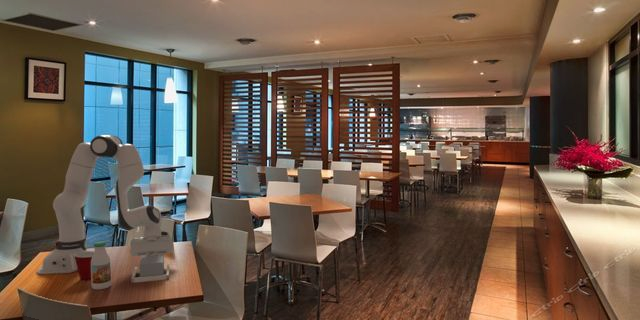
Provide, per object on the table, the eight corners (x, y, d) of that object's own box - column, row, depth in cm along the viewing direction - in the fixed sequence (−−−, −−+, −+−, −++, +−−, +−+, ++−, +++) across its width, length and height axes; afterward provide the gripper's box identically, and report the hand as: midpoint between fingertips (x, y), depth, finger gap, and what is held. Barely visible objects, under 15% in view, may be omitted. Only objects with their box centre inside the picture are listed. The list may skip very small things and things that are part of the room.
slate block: (140, 281, 204) (139, 264, 203) (142, 272, 217) (141, 255, 216) (163, 279, 207) (162, 262, 206) (164, 269, 220) (163, 254, 219)
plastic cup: (105, 277, 209) (104, 251, 208) (82, 283, 200) (81, 257, 199) (92, 273, 215) (91, 248, 214) (69, 279, 206) (68, 254, 205)
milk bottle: (87, 288, 194) (85, 243, 193) (101, 283, 201) (100, 239, 200) (101, 291, 191) (99, 245, 190) (115, 285, 198) (113, 240, 197)
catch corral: (131, 282, 201) (131, 278, 201) (134, 271, 217) (134, 267, 217) (168, 279, 206) (168, 274, 206) (169, 268, 222) (169, 264, 222)
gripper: (129, 235, 222) (128, 260, 213) (173, 232, 228) (173, 256, 219) (131, 242, 226) (129, 266, 218) (173, 238, 232) (173, 262, 224)
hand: (152, 261), depth 219 cm, fingers closed
